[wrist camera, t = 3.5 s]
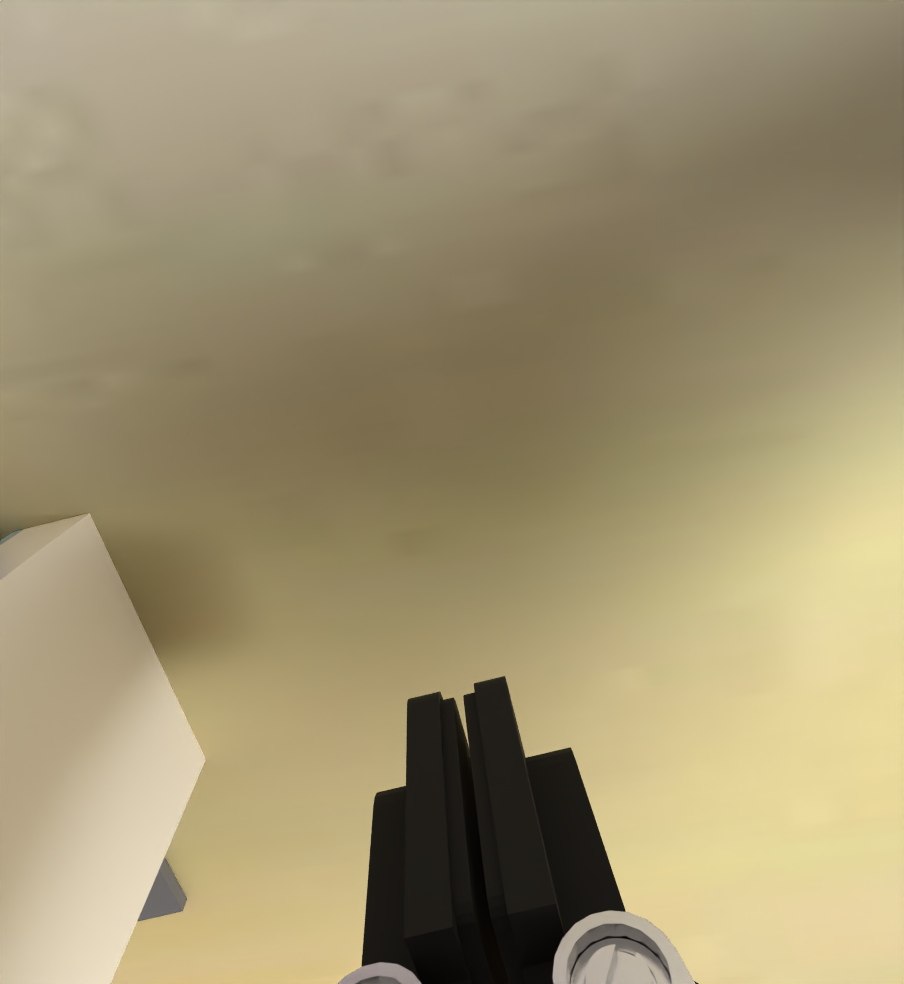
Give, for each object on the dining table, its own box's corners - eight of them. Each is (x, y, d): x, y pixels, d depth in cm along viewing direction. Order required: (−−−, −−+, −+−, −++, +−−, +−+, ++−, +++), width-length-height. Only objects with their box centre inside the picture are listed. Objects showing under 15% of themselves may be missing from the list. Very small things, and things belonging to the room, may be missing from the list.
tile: (89, 512, 16) (-392, 875, 6) (206, 759, 18) (-13, 1271, 9) (13, 531, 16) (-579, 919, 6) (140, 775, 18) (-144, 1299, 9)
